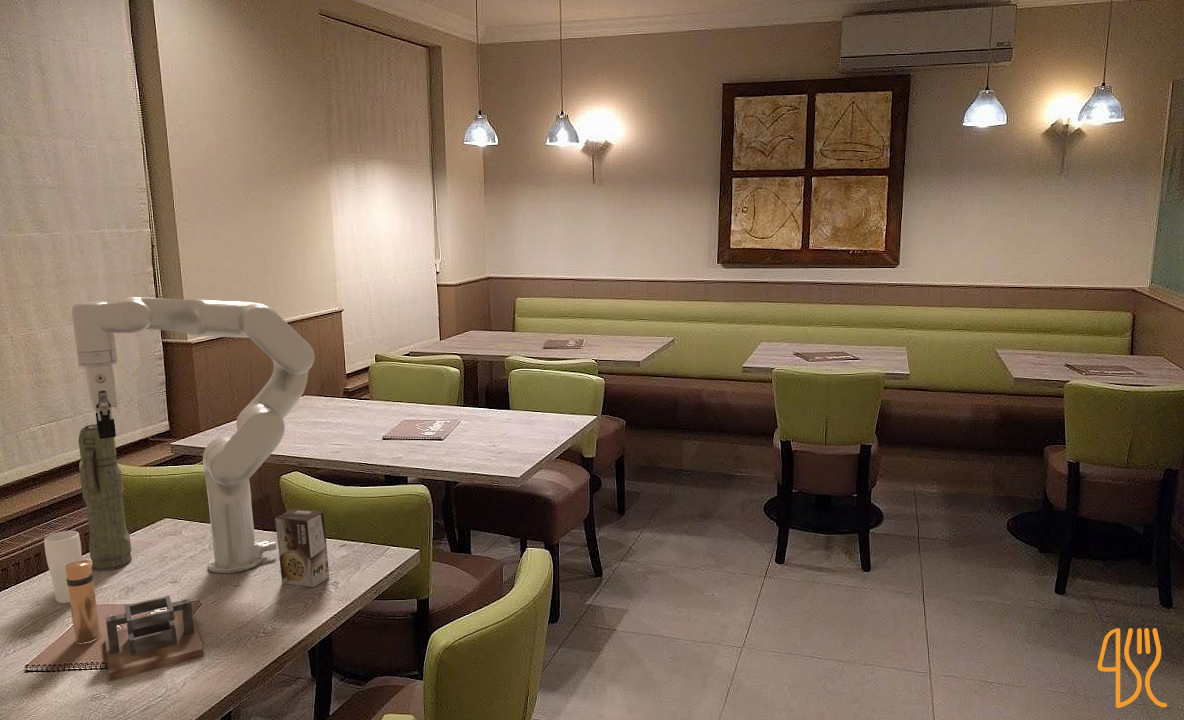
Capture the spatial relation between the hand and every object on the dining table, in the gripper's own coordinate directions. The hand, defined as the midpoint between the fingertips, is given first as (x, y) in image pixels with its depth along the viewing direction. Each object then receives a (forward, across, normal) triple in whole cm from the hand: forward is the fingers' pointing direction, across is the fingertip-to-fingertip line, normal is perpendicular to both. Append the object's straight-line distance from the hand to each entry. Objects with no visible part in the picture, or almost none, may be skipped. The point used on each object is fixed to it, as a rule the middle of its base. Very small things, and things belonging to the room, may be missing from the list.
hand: (106, 433), depth 192 cm
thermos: (+37, +18, +2) cm, 41 cm away
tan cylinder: (+37, -24, +8) cm, 44 cm away
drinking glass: (+37, 0, +11) cm, 39 cm away
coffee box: (+37, -20, -36) cm, 55 cm away
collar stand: (+37, -36, -3) cm, 51 cm away
